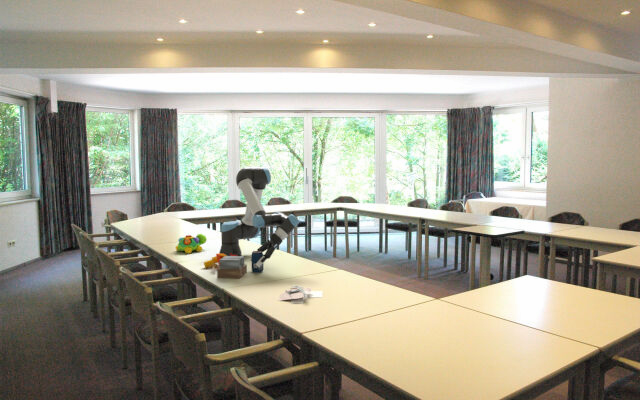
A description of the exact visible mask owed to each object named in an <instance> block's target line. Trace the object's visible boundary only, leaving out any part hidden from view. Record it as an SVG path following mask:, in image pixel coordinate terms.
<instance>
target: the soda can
mask: <svg viewBox="0 0 640 400" xmlns="http://www.w3.org/2000/svg"><path fill="white" fill-rule="evenodd" d="M263 255H264V252H262V251H258V250H253V251H252V253H251V255H250V256H251V258H250V259H251V260H250V261H251V262H250V263H251V272H252V273H255V274H260V273H263V271H264V263H263V264H262V265H261V266H260V267H258V266H257V265H256V263H257V262H258V261H259V260H260V259H261V258H262V257H263Z"/></svg>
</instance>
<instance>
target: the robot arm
mask: <svg viewBox="0 0 640 400" xmlns="http://www.w3.org/2000/svg"><path fill="white" fill-rule="evenodd" d="M271 176H272V174H271V172H270V170H269V169H268V168H267V167H265V166H264V167H263V166H253V167H252V166H249V167H248V166H246V167H245V166H244V167H243V168H241V169H240V170H238V172H237V173H236V178H235V184H236V187H238V189H239V190H240V192H241V193H242V195H243V197H244V200H245V201H246V206H245V213H244V217H242V218H241V220H240V221H241V222H239V221H238V220H233V221H226V222H223V223H222V224H221V230H220V231H221V233H220V235H221V237H220V238H221V246H220V249H219V253H223V254H225V255H227V256H230V254H231V253H232V254H233V255H237V256H243V255H242V249H241V246H240V243H239V242H240V241H241V240H248V239H250V240H251V239H254V238H255V239H256V238H257V237H258V236H259V235H260V232H261V228H266V227H267V228H268V227H277V228H276V229H275V230H274V232H273V233H272V234H271V235H270V236H269V239H268V240H266V241H265V242H264V243H263V244H262V245H260V246H259V248H257V249H256V251H262V253H263V257H262V258H261V259H260V260H259V261H258V262H257V263H256V265H257V266H258V267H260V266H261V265H262V264H263V265H264V263H265V262H266V261H267V260H269V259H270V258H271V257H272V255H273V254H274V252H275V250H276V249H277V248H278V246H281V244H282V243H283V241H284V240H285V239H287V238H288V237H289V235H290V234H291V233H292V232H293V230H295V229H296V227H297V226H298V225H299V224H300V220H299V219H298V217H296V216H295V215H294V214H292V213H291V214H289V215H287V214H285V213H284V212H281V211H275V212H273V213H267V212H266V211H265V209H264V207H263V204H262V202H261V201H262V196H263V191H264V190H266V187H267V185H270V183H271V181H272V179H271V178H272V177H271ZM239 240H240V241H239ZM264 252H265V253H264ZM219 253H218V254H219ZM249 261H251V258H250V259H249Z"/></svg>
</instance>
